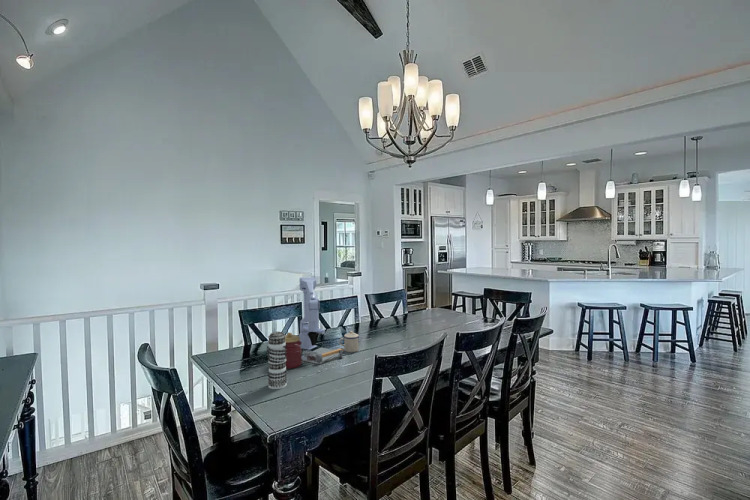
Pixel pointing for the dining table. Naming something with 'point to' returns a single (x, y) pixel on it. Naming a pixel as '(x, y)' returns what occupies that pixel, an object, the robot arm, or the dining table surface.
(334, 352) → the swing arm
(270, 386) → the decorative candle
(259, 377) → the dining table surface
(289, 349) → the canister
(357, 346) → the teacup with lid
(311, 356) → the base plate
